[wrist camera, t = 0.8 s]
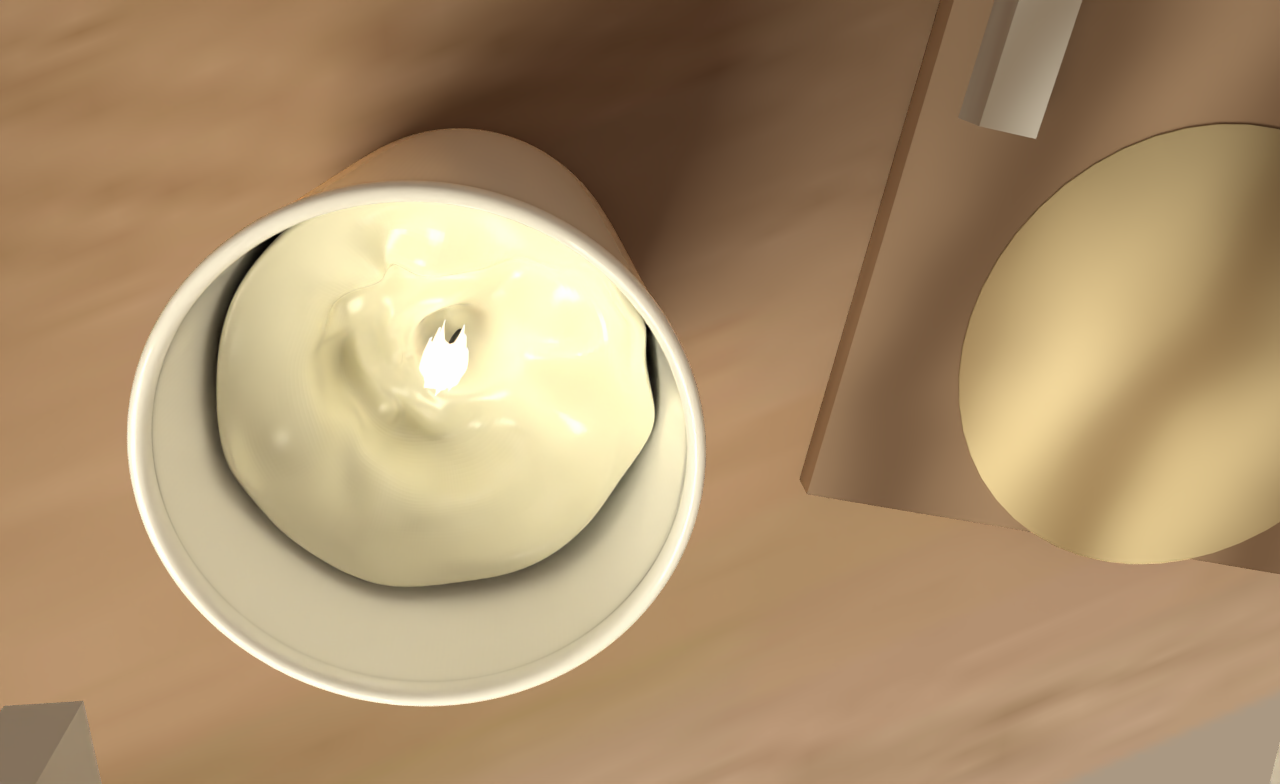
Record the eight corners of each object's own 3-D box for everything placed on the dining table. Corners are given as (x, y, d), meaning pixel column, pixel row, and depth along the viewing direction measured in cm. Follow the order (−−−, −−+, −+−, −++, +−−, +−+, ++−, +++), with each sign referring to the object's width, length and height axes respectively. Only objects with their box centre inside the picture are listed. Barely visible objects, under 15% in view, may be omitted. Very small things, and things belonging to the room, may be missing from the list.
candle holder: (633, 78, 29) (688, 155, 18) (661, 431, 33) (722, 678, 21) (245, 114, 29) (54, 215, 17) (316, 466, 32) (196, 739, 21)
